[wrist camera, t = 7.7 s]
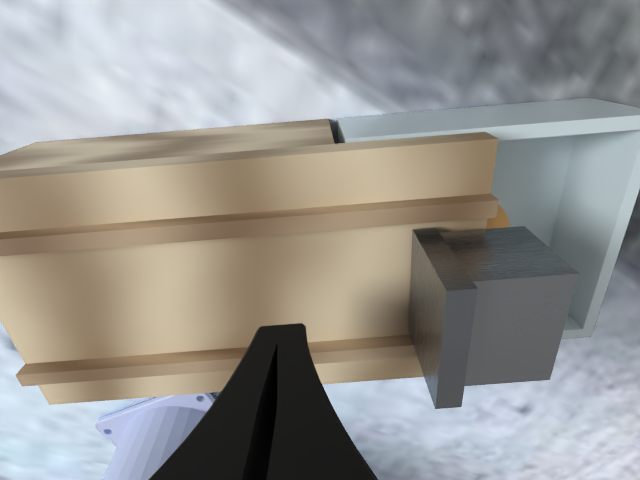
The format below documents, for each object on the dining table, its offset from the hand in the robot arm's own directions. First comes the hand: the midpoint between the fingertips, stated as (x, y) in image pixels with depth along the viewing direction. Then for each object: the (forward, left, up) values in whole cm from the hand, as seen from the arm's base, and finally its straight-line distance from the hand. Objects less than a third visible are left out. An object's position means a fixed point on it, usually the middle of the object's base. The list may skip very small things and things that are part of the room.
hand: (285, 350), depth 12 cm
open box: (-3, -8, -9) cm, 12 cm away
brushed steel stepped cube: (-2, -6, -3) cm, 7 cm away
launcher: (+1, +3, -9) cm, 9 cm away
